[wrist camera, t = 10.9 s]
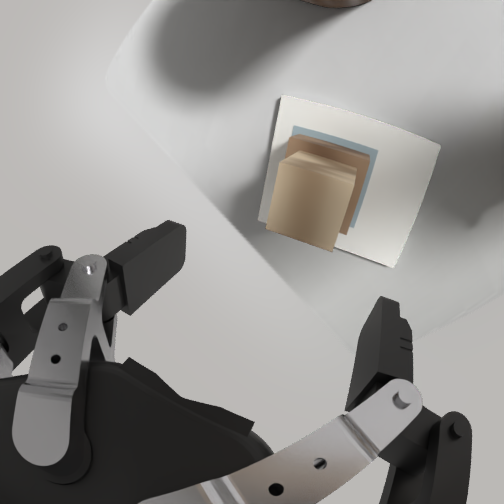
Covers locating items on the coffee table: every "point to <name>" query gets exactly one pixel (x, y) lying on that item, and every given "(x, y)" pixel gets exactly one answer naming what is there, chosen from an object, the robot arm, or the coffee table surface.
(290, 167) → the oak block
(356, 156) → the walnut plinth
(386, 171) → the board
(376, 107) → the coffee table surface
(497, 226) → the coffee table surface
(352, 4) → the plant pot
